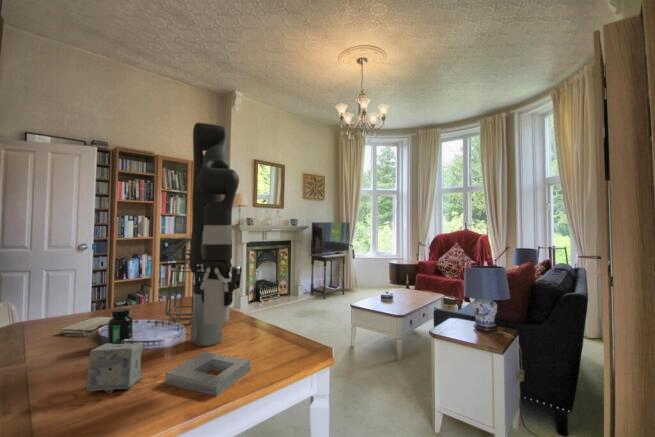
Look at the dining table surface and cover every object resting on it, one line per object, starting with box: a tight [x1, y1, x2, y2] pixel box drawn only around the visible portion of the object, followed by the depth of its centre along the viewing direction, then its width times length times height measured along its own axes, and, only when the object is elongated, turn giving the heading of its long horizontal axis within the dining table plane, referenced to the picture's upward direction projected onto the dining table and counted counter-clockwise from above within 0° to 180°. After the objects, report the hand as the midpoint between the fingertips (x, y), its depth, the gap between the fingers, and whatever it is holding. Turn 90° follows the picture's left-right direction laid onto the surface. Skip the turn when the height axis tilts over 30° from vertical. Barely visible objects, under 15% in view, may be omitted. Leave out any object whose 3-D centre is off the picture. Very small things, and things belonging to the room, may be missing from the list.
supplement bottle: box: [107, 307, 134, 344], centre depth 106 cm, size 7×7×12 cm
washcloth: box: [58, 316, 113, 337], centre depth 122 cm, size 12×18×3 cm, turn 174°
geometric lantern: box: [163, 237, 205, 326], centre depth 132 cm, size 16×16×35 cm
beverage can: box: [204, 278, 230, 325], centre depth 85 cm, size 6×6×12 cm
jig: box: [165, 351, 251, 397], centre depth 85 cm, size 16×14×3 cm
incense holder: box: [85, 341, 144, 394], centre depth 80 cm, size 10×8×10 cm
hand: (216, 304), depth 85 cm, fingers closed on beverage can, 6 cm apart
